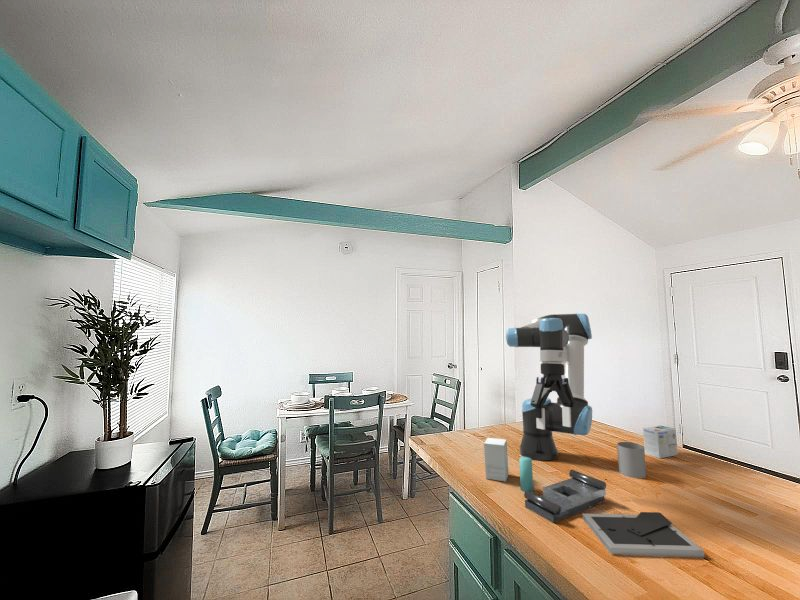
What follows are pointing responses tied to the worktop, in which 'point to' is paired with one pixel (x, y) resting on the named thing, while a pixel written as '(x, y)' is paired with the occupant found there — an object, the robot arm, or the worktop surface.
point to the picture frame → (641, 535)
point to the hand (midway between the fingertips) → (554, 427)
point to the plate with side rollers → (567, 497)
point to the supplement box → (496, 459)
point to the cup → (631, 459)
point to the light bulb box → (660, 441)
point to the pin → (526, 474)
